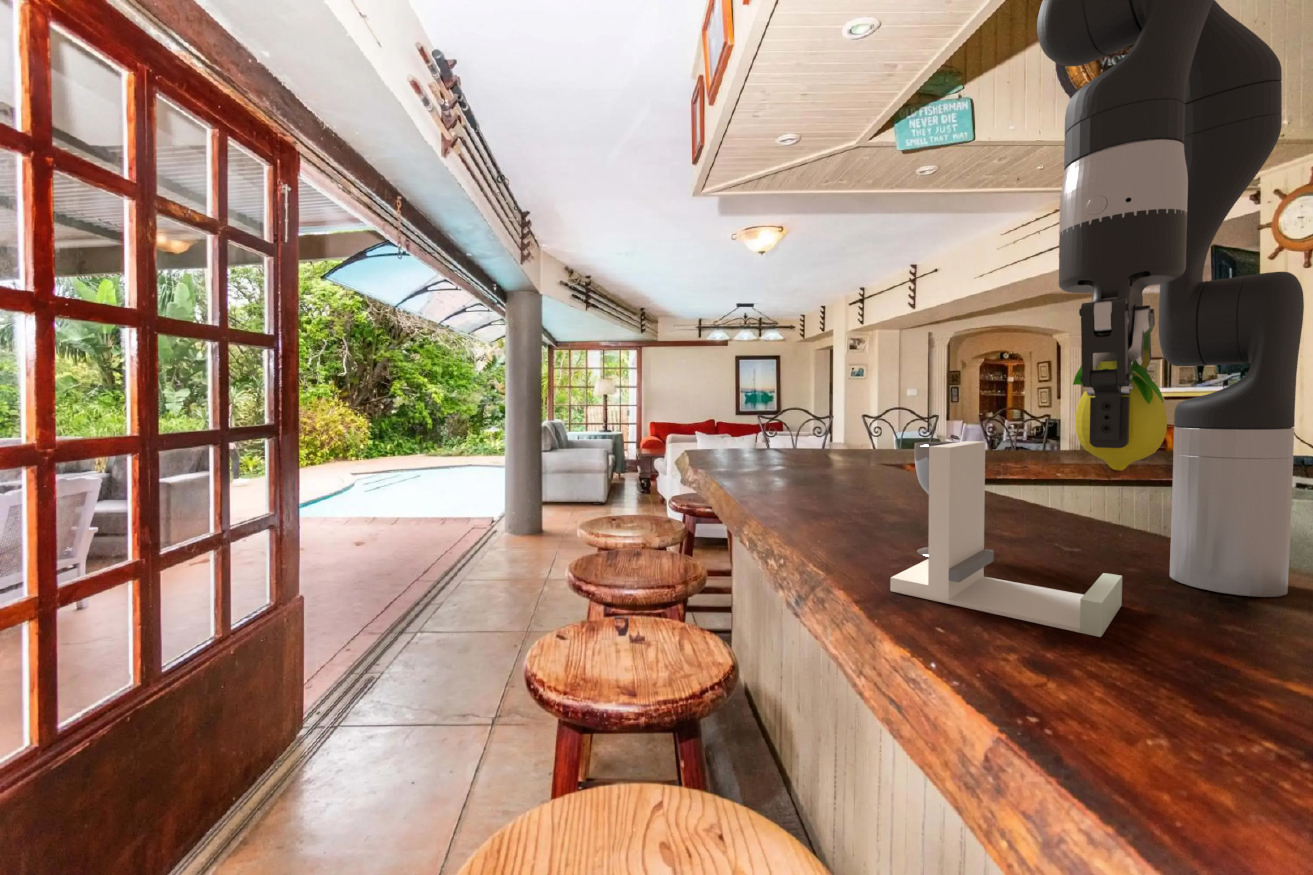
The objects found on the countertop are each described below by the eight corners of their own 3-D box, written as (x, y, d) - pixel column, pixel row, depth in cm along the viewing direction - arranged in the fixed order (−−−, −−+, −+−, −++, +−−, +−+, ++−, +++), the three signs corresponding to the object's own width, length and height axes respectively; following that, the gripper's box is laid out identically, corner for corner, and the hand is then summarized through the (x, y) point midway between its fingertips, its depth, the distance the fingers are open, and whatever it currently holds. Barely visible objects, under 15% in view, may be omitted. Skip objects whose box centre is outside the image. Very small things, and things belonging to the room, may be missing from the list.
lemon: (1071, 464, 49) (1073, 345, 49) (1163, 467, 46) (1166, 339, 45) (1065, 473, 44) (1067, 340, 43) (1168, 477, 40) (1171, 332, 40)
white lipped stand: (929, 570, 71) (930, 440, 70) (1121, 605, 58) (1125, 445, 57) (890, 590, 63) (890, 445, 63) (1100, 637, 50) (1105, 453, 49)
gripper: (1178, 183, 36) (1171, 454, 37) (1193, 228, 46) (1188, 440, 47) (1037, 214, 41) (1034, 450, 42) (1078, 248, 51) (1075, 438, 52)
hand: (1115, 443), depth 45 cm, fingers closed on lemon, 5 cm apart
